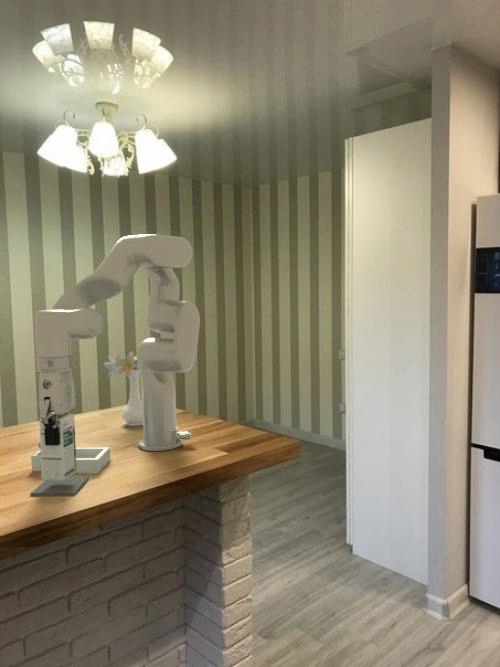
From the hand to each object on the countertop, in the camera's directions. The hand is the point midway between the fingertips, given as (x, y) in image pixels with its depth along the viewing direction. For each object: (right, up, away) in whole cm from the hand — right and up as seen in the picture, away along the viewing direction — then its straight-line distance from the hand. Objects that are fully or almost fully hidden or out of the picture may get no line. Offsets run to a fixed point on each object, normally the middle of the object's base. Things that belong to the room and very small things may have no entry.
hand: (58, 439), depth 122 cm
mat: (0, -11, +1) cm, 11 cm away
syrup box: (0, -9, +1) cm, 9 cm away
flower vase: (+5, -6, +57) cm, 57 cm away
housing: (-2, -10, +15) cm, 18 cm away
